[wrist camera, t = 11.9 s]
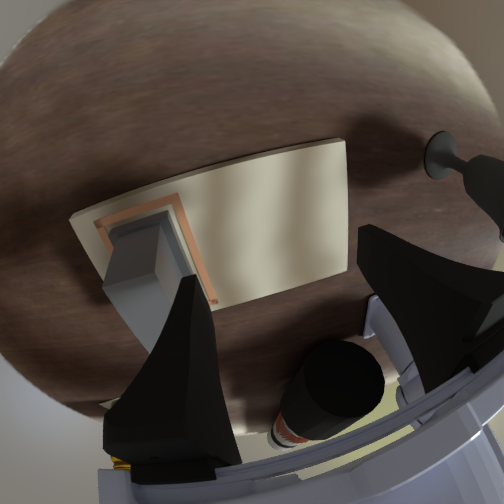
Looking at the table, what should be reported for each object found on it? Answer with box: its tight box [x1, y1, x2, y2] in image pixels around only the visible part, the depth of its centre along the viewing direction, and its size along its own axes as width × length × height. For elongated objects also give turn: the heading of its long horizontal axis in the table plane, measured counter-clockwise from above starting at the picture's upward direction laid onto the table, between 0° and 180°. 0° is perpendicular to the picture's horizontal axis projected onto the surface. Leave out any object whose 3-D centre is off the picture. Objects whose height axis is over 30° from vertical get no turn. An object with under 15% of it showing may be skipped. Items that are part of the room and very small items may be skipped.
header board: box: [69, 138, 348, 311], centre depth 20 cm, size 20×12×5 cm, turn 101°
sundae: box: [425, 131, 504, 242], centre depth 15 cm, size 7×7×15 cm
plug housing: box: [102, 224, 183, 354], centre depth 18 cm, size 3×8×5 cm, turn 11°
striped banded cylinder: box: [267, 340, 385, 451], centre depth 39 cm, size 10×34×10 cm, turn 169°
